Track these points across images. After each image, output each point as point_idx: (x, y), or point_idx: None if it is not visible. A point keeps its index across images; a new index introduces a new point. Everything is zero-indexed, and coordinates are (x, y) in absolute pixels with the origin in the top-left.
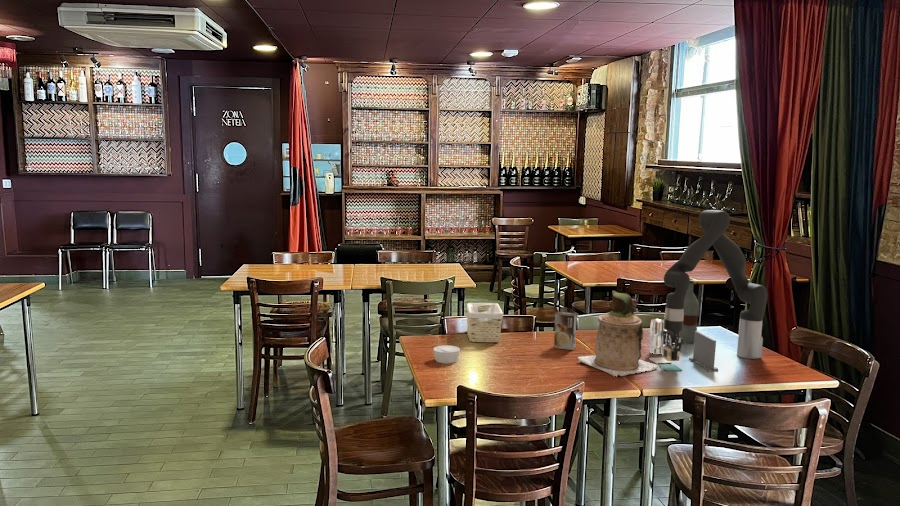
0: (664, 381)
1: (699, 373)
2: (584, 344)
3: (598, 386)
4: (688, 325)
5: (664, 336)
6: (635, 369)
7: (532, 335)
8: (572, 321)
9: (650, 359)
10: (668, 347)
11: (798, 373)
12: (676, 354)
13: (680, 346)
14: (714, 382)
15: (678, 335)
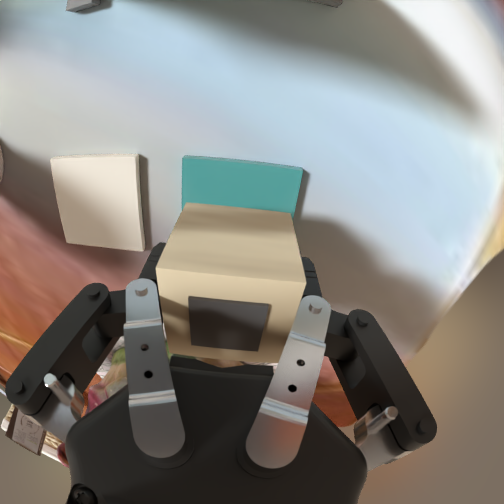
0: (391, 321)
1: (371, 86)
2: (3, 334)
3: (335, 421)
4: None
5: (83, 388)
6: (248, 362)
7: (4, 370)
8: (40, 442)
9: (81, 242)
10: (225, 346)
11: None
12: (317, 290)
13: (392, 360)
14: (491, 135)
15: (363, 479)
